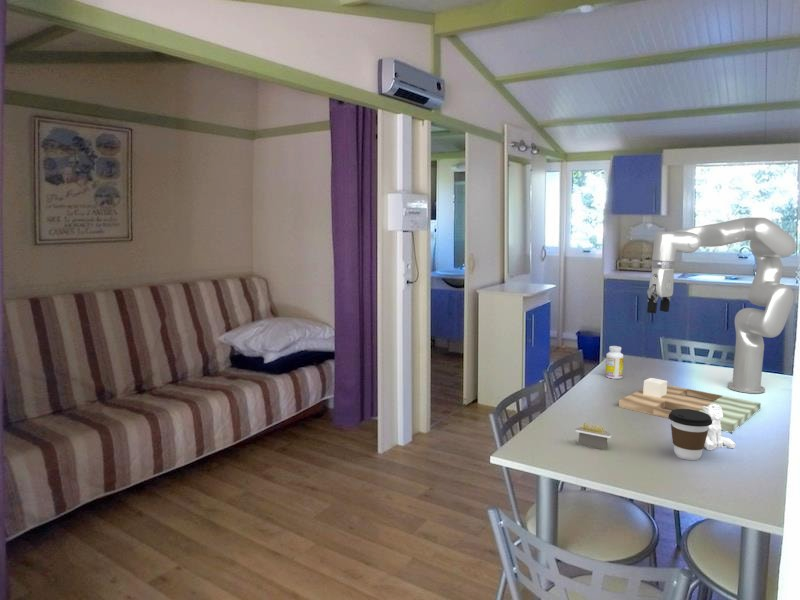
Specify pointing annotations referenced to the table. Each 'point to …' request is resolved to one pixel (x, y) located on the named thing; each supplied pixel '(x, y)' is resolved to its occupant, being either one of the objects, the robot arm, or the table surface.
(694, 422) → the coffee cup
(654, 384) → the block
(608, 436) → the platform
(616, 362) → the supplement bottle
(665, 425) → the table surface
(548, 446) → the table surface
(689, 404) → the board
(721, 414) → the white creature statuette
